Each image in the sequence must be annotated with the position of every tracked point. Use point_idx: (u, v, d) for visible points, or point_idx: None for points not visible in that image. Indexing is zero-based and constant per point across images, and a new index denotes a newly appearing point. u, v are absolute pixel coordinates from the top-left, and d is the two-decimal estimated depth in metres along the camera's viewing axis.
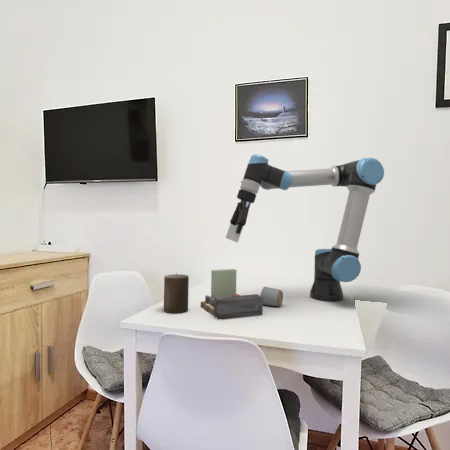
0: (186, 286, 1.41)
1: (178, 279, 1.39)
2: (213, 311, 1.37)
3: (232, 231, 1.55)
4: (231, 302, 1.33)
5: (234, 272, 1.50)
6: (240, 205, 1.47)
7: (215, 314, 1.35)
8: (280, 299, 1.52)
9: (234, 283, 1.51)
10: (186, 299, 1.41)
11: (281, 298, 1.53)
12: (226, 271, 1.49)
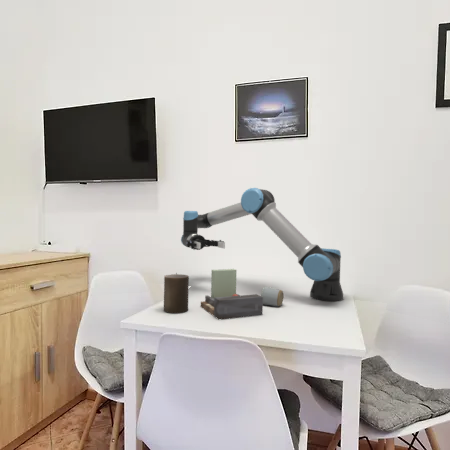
0: (186, 286, 1.41)
1: (178, 279, 1.39)
2: (213, 311, 1.37)
3: (220, 243, 1.68)
4: (231, 302, 1.33)
5: (234, 272, 1.50)
6: None
7: (215, 314, 1.35)
8: (280, 299, 1.52)
9: (234, 283, 1.51)
10: (186, 299, 1.41)
11: (281, 298, 1.53)
12: (226, 271, 1.49)
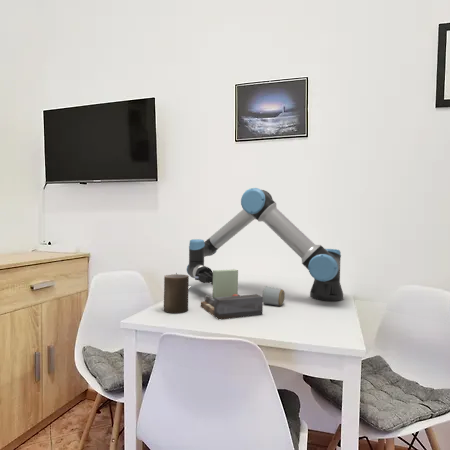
0: (186, 286, 1.41)
1: (178, 279, 1.39)
2: (213, 311, 1.37)
3: None
4: (231, 302, 1.33)
5: (236, 273, 1.49)
6: None
7: (215, 314, 1.35)
8: (282, 298, 1.53)
9: (236, 284, 1.49)
10: (186, 299, 1.41)
11: (283, 297, 1.54)
12: (228, 272, 1.48)
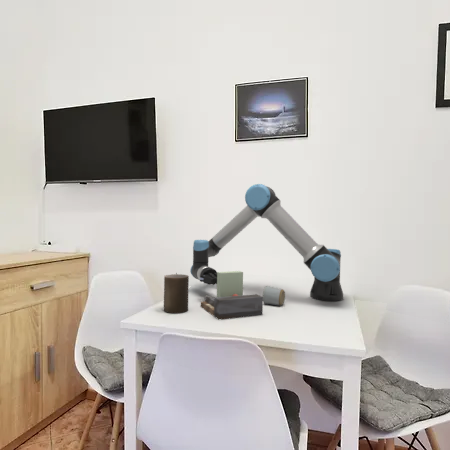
0: (186, 286, 1.41)
1: (178, 279, 1.39)
2: (213, 311, 1.37)
3: None
4: (231, 302, 1.33)
5: (241, 274, 1.45)
6: None
7: (215, 314, 1.35)
8: (282, 298, 1.53)
9: (241, 286, 1.45)
10: (186, 299, 1.41)
11: (283, 297, 1.54)
12: (232, 273, 1.43)
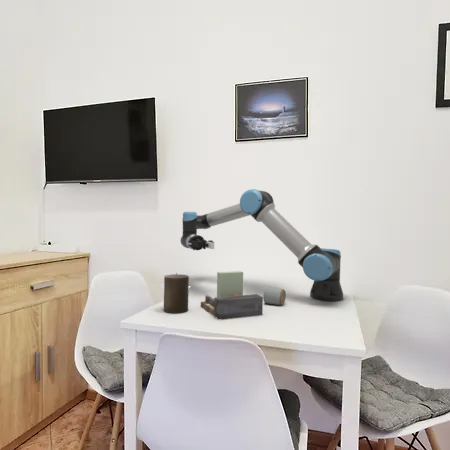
0: (186, 286, 1.41)
1: (178, 279, 1.39)
2: (213, 311, 1.37)
3: None
4: (231, 302, 1.33)
5: (241, 274, 1.45)
6: None
7: (215, 314, 1.35)
8: (283, 298, 1.54)
9: (241, 286, 1.45)
10: (186, 299, 1.41)
11: (284, 297, 1.55)
12: (232, 273, 1.43)
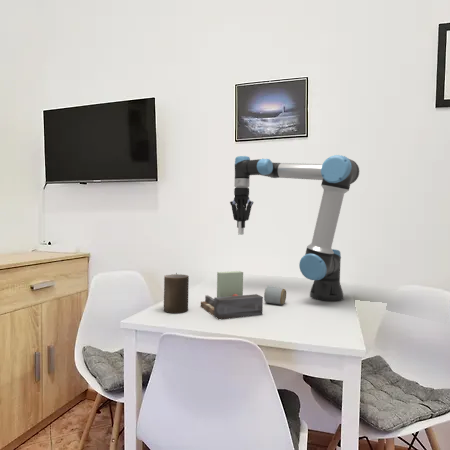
0: (186, 286, 1.41)
1: (178, 279, 1.39)
2: (213, 311, 1.37)
3: None
4: (231, 302, 1.33)
5: (241, 274, 1.45)
6: (242, 201, 1.79)
7: (215, 314, 1.35)
8: (283, 297, 1.55)
9: (241, 286, 1.45)
10: (186, 299, 1.41)
11: (284, 296, 1.56)
12: (232, 273, 1.43)
